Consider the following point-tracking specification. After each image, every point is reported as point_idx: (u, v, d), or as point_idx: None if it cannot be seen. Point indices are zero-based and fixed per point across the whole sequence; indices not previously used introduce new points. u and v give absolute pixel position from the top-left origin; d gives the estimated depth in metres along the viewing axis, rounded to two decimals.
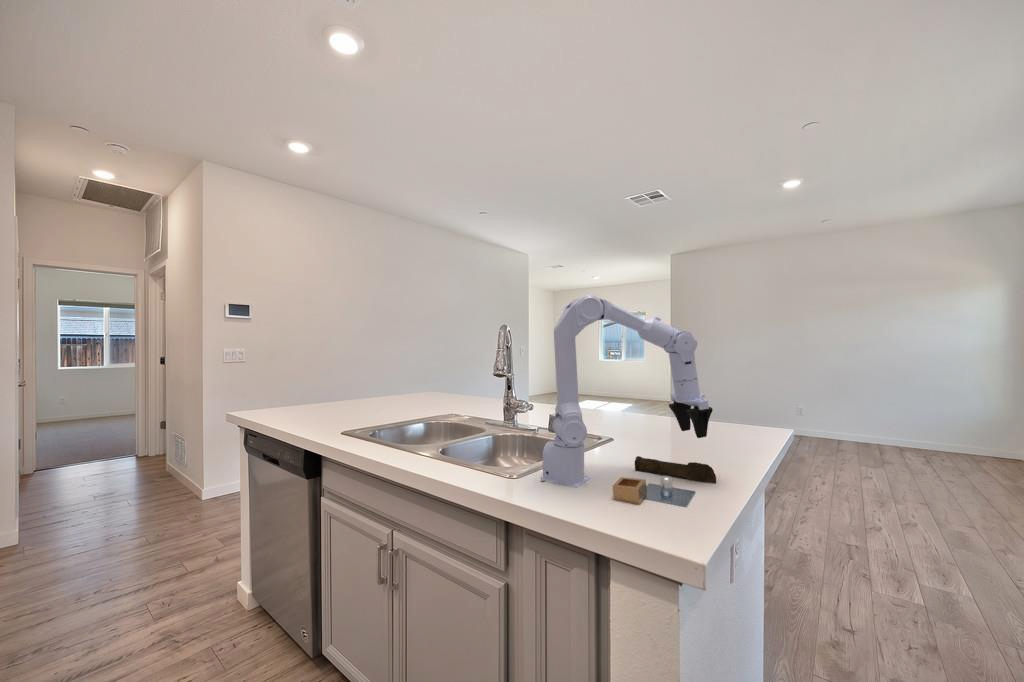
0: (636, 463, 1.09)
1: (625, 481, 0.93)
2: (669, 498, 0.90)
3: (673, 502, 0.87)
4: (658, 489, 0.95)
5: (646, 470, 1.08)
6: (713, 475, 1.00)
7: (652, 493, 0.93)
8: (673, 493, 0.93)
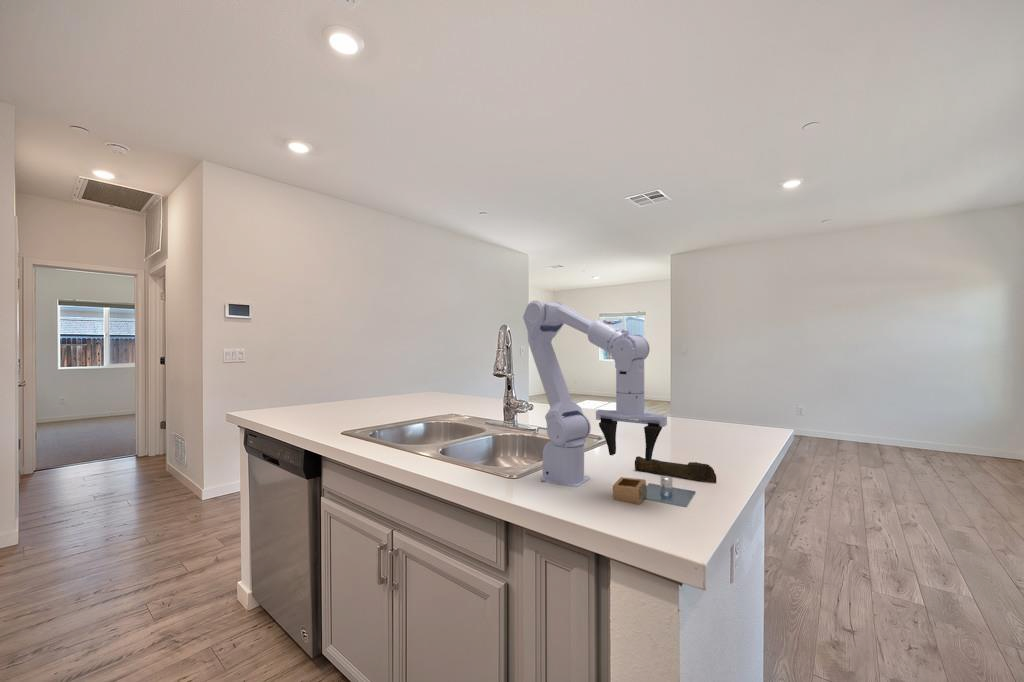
0: (636, 463, 1.09)
1: (625, 481, 0.93)
2: (669, 498, 0.90)
3: (673, 502, 0.87)
4: (658, 489, 0.95)
5: (646, 470, 1.08)
6: (713, 475, 1.00)
7: (652, 493, 0.93)
8: (673, 493, 0.93)
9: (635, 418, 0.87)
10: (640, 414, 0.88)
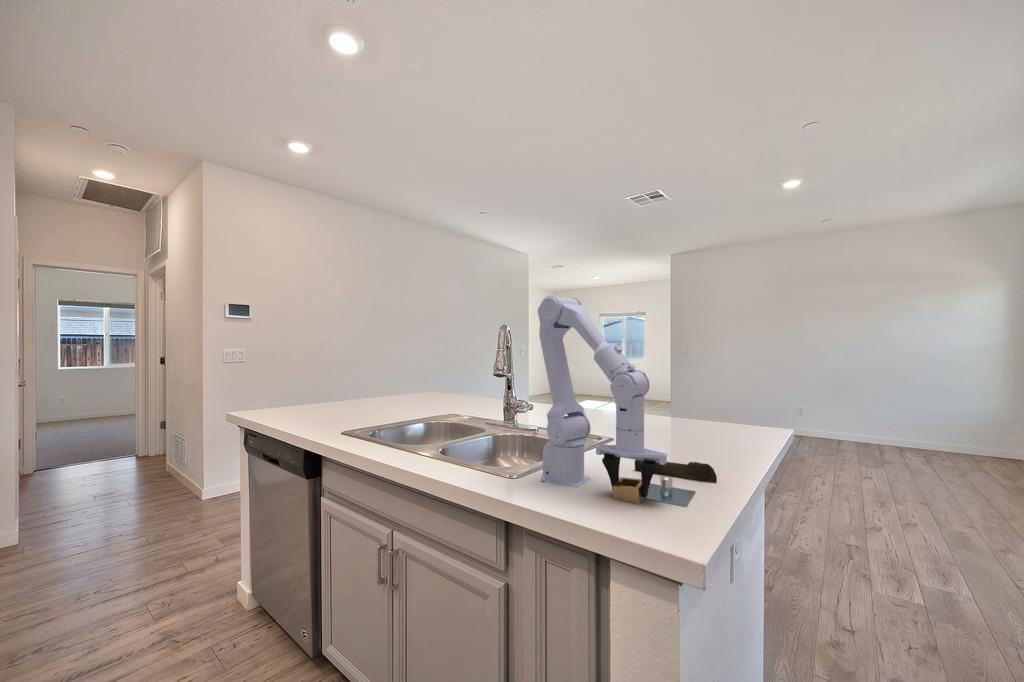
0: (636, 463, 1.09)
1: (625, 481, 0.93)
2: (669, 498, 0.90)
3: (673, 502, 0.87)
4: (658, 489, 0.95)
5: None
6: (714, 475, 1.00)
7: (652, 493, 0.93)
8: (673, 493, 0.93)
9: (635, 455, 0.87)
10: (640, 451, 0.88)
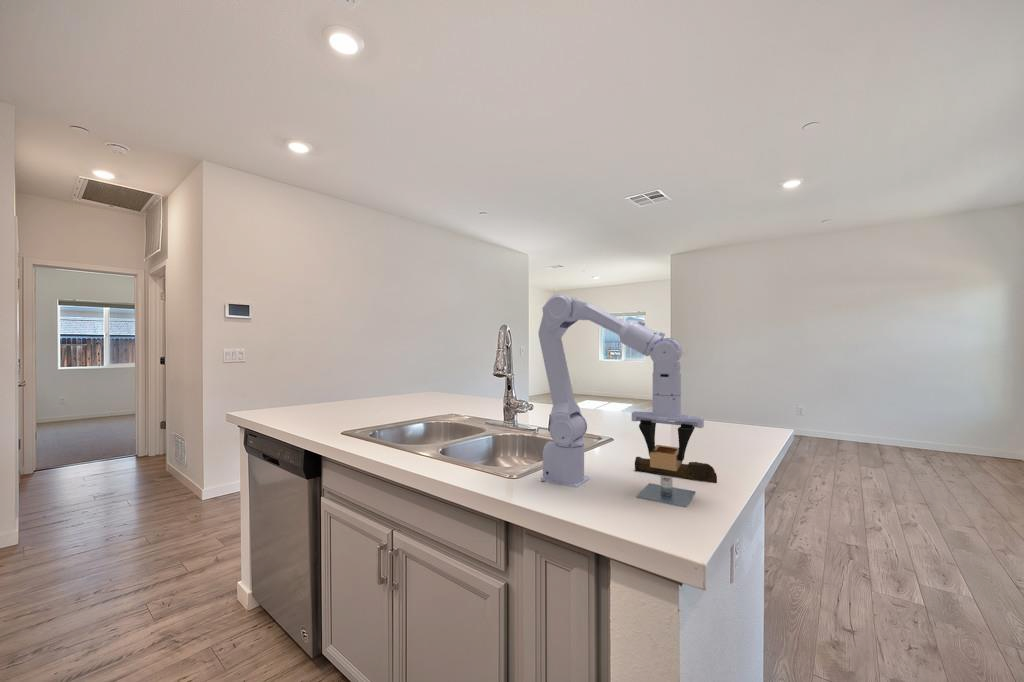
0: (636, 463, 1.09)
1: (661, 448, 0.94)
2: (669, 498, 0.90)
3: (673, 502, 0.87)
4: (658, 489, 0.95)
5: (646, 470, 1.08)
6: (714, 474, 1.00)
7: (652, 493, 0.93)
8: (673, 493, 0.93)
9: (672, 420, 0.89)
10: (677, 416, 0.90)
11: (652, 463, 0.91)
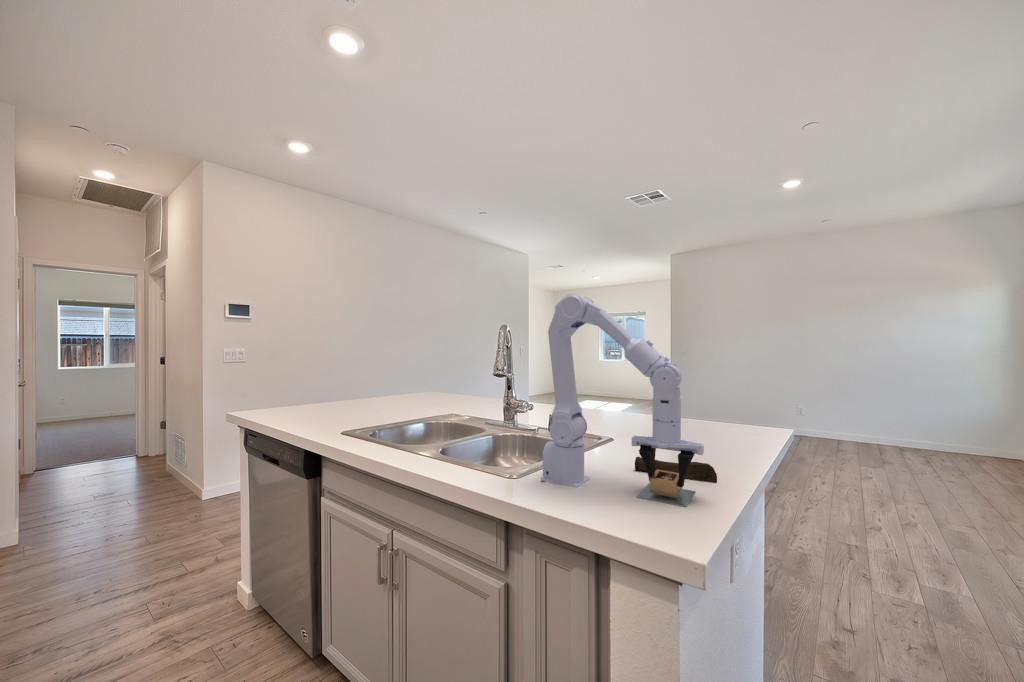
0: (636, 463, 1.09)
1: (661, 473, 0.95)
2: (669, 498, 0.90)
3: (673, 502, 0.87)
4: None
5: (646, 470, 1.08)
6: (714, 474, 1.01)
7: (652, 493, 0.93)
8: None
9: (672, 446, 0.89)
10: (677, 442, 0.90)
11: (652, 489, 0.91)
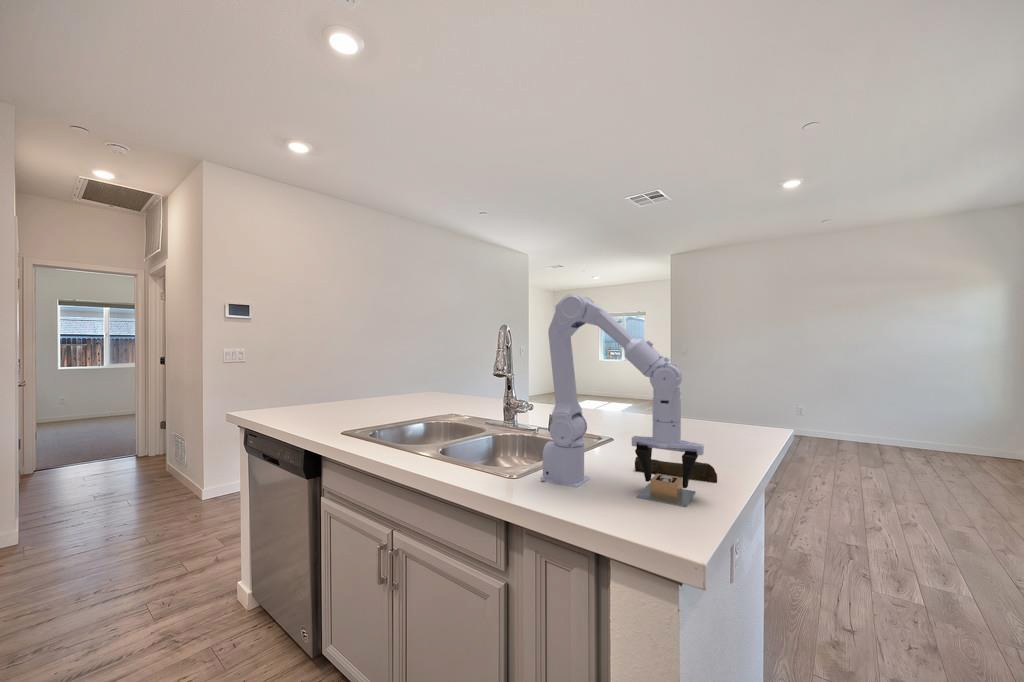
0: (636, 464, 1.09)
1: None
2: None
3: (673, 502, 0.87)
4: None
5: None
6: (714, 474, 1.01)
7: None
8: None
9: (672, 446, 0.89)
10: (677, 442, 0.90)
11: (652, 491, 0.91)
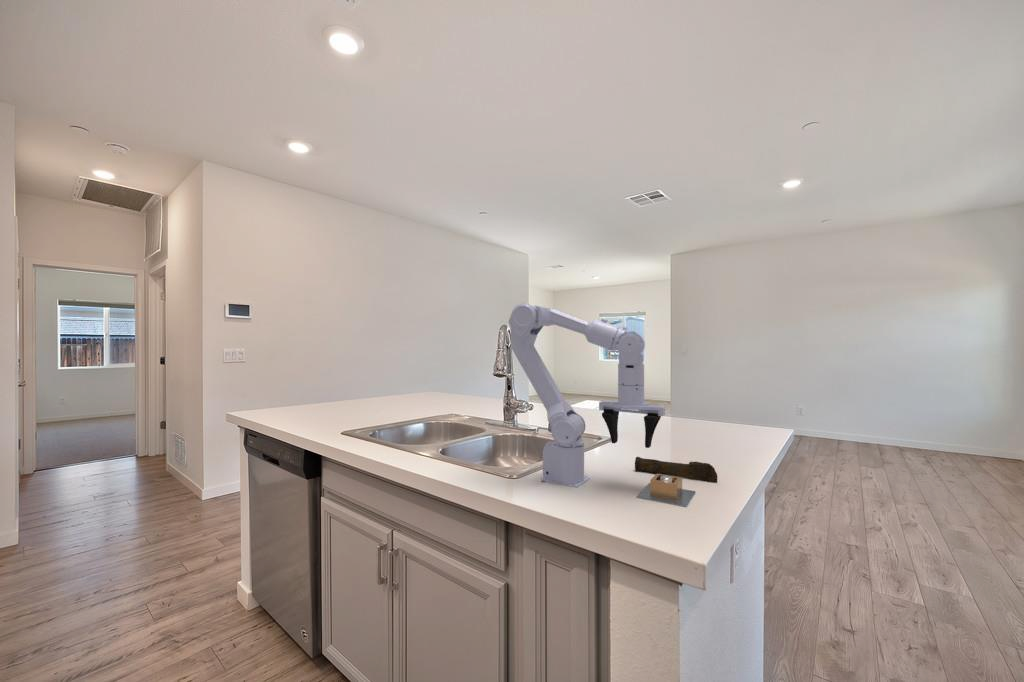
0: (636, 464, 1.08)
1: None
2: None
3: (673, 502, 0.87)
4: None
5: (646, 470, 1.08)
6: (714, 474, 1.01)
7: None
8: None
9: (635, 408, 0.94)
10: (640, 405, 0.95)
11: (652, 491, 0.91)
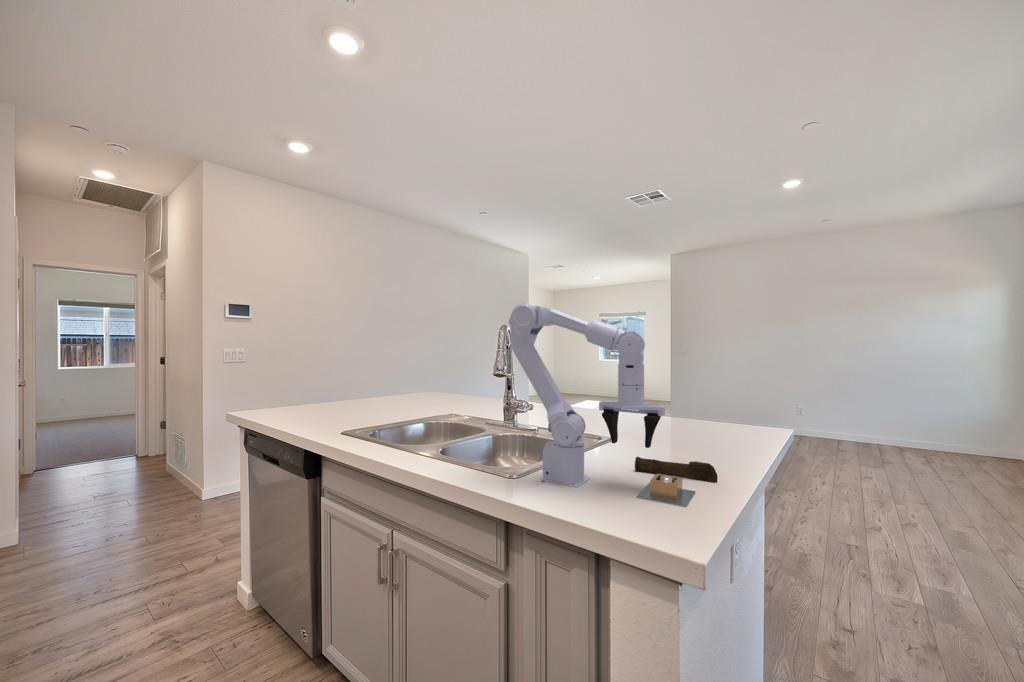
0: (636, 464, 1.08)
1: None
2: None
3: (673, 502, 0.87)
4: None
5: (646, 470, 1.08)
6: (714, 473, 1.01)
7: None
8: None
9: (635, 408, 0.94)
10: (640, 405, 0.95)
11: (652, 491, 0.91)
